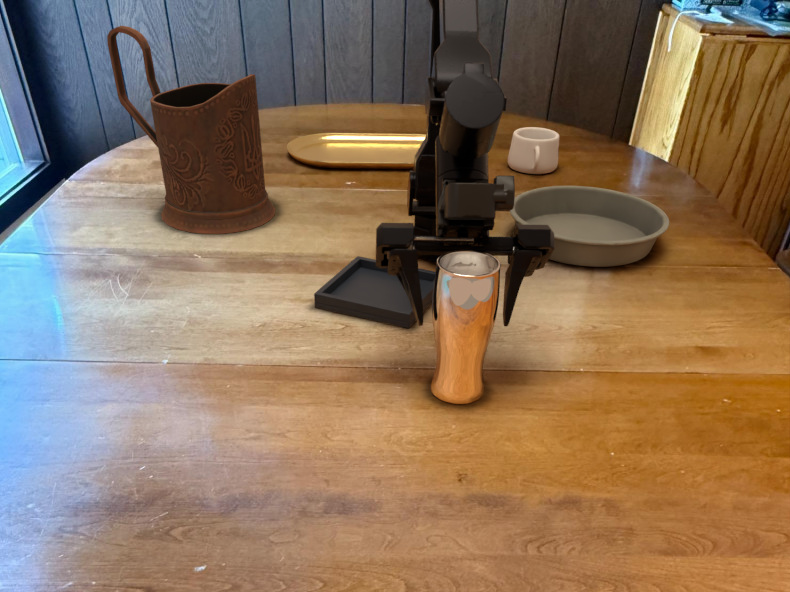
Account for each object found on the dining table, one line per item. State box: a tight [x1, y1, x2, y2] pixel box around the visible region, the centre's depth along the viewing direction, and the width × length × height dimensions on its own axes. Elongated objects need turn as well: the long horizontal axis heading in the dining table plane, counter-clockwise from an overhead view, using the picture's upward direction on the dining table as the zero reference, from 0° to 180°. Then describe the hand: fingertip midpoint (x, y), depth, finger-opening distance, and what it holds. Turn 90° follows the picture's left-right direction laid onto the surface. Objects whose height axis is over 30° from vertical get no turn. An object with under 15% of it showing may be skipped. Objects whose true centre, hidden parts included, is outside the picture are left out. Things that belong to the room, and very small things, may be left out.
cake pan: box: [509, 185, 670, 268], centre depth 122 cm, size 25×25×4 cm
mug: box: [507, 126, 560, 175], centre depth 147 cm, size 12×10×6 cm
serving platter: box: [286, 132, 426, 170], centre depth 151 cm, size 19×35×2 cm, turn 93°
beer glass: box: [430, 250, 502, 405], centre depth 84 cm, size 7×7×15 cm
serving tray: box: [313, 255, 436, 329], centre depth 105 cm, size 14×14×2 cm
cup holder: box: [106, 25, 276, 235], centre depth 120 cm, size 18×24×25 cm
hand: (463, 324), depth 83 cm, fingers open, 9 cm apart
